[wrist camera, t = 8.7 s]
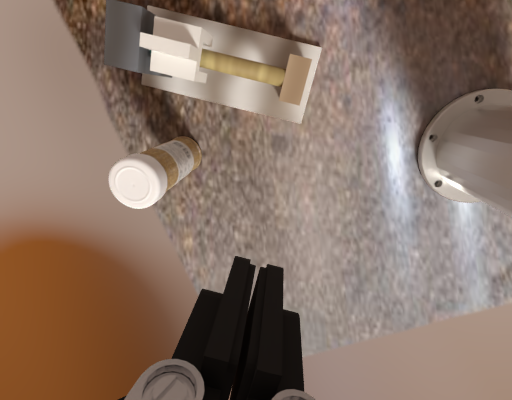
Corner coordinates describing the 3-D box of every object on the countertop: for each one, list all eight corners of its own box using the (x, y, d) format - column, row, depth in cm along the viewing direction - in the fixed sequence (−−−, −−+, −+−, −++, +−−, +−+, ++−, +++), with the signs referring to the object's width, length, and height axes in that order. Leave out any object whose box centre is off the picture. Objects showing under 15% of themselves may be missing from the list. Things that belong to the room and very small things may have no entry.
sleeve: (213, 36, 27) (193, 20, 22) (205, 83, 29) (185, 79, 23) (172, 26, 27) (142, 8, 22) (167, 73, 29) (137, 68, 23)
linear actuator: (321, 48, 31) (334, 31, 22) (300, 123, 34) (305, 132, 25) (150, 7, 31) (100, -26, 23) (144, 84, 34) (97, 80, 26)
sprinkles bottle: (161, 145, 36) (95, 171, 24) (191, 129, 35) (139, 148, 23) (179, 177, 38) (126, 218, 25) (209, 162, 36) (169, 197, 24)
